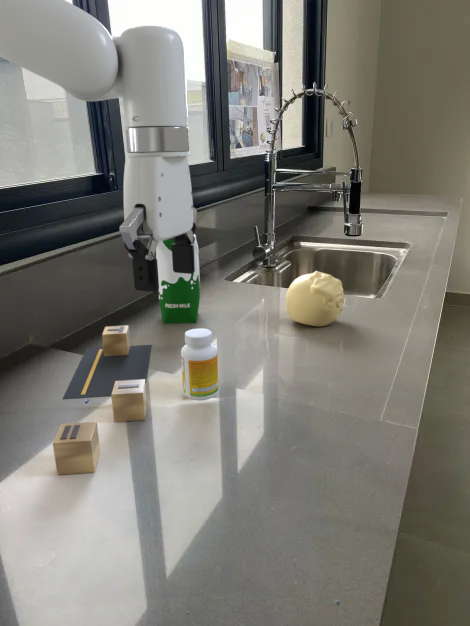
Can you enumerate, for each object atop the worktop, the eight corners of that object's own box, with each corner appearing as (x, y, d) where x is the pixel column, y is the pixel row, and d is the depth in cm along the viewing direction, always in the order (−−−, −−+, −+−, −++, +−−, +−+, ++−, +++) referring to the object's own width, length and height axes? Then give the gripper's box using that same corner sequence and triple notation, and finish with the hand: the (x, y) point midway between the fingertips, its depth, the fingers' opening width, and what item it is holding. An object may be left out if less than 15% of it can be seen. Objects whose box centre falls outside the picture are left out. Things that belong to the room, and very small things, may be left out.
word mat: (62, 401, 73) (62, 398, 73) (86, 350, 92) (86, 347, 92) (144, 396, 74) (144, 393, 74) (151, 346, 93) (151, 344, 93)
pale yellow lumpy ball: (337, 334, 98) (339, 281, 94) (278, 327, 102) (279, 276, 99) (347, 316, 108) (350, 268, 104) (293, 311, 112) (294, 264, 109)
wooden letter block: (114, 422, 67) (111, 394, 66) (117, 407, 71) (115, 380, 70) (145, 420, 68) (142, 391, 66) (147, 405, 72) (145, 378, 70)
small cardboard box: (104, 356, 88) (101, 333, 87) (107, 347, 92) (105, 325, 91) (128, 355, 89) (126, 332, 87) (130, 346, 93) (128, 324, 91)
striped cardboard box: (57, 475, 57) (52, 442, 55) (65, 454, 61) (60, 423, 59) (94, 472, 57) (90, 439, 56) (100, 451, 61) (96, 420, 60)
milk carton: (158, 327, 104) (151, 231, 97) (163, 313, 112) (157, 224, 106) (200, 325, 104) (196, 230, 98) (202, 312, 112) (198, 223, 106)
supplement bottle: (226, 391, 75) (224, 331, 72) (200, 404, 72) (197, 342, 69) (201, 381, 79) (199, 323, 76) (175, 393, 75) (172, 333, 72)
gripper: (166, 145, 69) (173, 265, 75) (87, 144, 54) (103, 296, 59) (215, 143, 66) (219, 268, 72) (146, 143, 51) (157, 301, 57)
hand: (166, 281), depth 66 cm, fingers open, 9 cm apart
